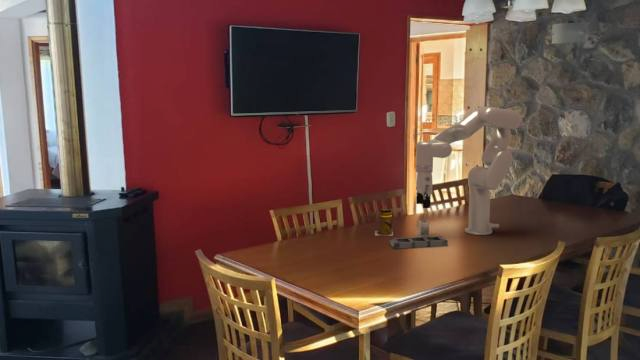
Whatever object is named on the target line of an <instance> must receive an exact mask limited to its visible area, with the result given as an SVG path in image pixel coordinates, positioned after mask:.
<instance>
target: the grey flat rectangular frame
mask: <svg viewBox="0 0 640 360" xmlns="http://www.w3.org/2000/svg"><path fill="white" fill-rule="evenodd" d="M389 245H390V246H391V247H392V248H393V250H400V249H416V248H417V249H418V248H436V247H437V248H438V247H448V240H447V239H446V238H445V237H444V236H441V235H435V236H434V235H433V236H430V235H429V237H418V236H416V237H415V236H414V237H413V236H412V237H394V238H389Z"/></svg>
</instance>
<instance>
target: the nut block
mask: <svg viewBox="0 0 640 360" xmlns="http://www.w3.org/2000/svg"><path fill="white" fill-rule="evenodd" d="M417 237H430V221H429V220H427V219H420V220H417Z"/></svg>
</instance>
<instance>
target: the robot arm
mask: <svg viewBox="0 0 640 360" xmlns="http://www.w3.org/2000/svg"><path fill="white" fill-rule="evenodd" d="M522 121H523V118H522V114H521V113H520V112H518V110H514V109H513V110H512V109H505V108H499V107H495V106H479V107H477V108H475V109H474V110H471V112H470V113H469V114H467V116H465V117H464V118H462V119H461V120H460V121H458V122H457V123H456V124H454V125H451V126H449V127H447V128H445V129H443V130H442V131H439V133H437V134H435V135H434V136H433V137H432V138H431V139H429V140H428V141H418V142H417V143H416V150H415V151H416V152H415V153H416V158H415V172H416V185H415V187H416V188H415V190H416V196H415V197H416V198H415V200H416V201H415V203H416V204H417V205H422V208H423V209H430V208H431V198H432V194H433V169H434V158H439V159H445V158H448V157H450V156H451V154H452V152H453V148H452V145H451V144H453V143H456V142H459V141H463V140H467V139H469V138H471V137H472V136H473V135H475V133H477V132H478V131H479V130H480V129H482V128H483V127H484V126H489V127H492V130H493V135H492V136H491V138H490V141H489V143H488V144H487V146H486V148H485V149H484V151H483V152H482V155H481V162H482V164H483V165H485V166H474V167H472V168H470V170H469V172H468V174H467V183H468V188H469V189H468V193H469V195H468V196H469V197H468V198H469V200H468V223H467V224H468V225H467V227H465V228H464V232H465V233H466V234H469V235H474V236H475V235H476V236H487V235H492V233H493V229H499V228H500V224H499V223H491V222H490V213H491V212H490V210H491V209H490V208H491V192H490V190H491V191H493V190H496V189H497V188H499V187H500V186H501V184H502V183H503V181H504V179H505V177H506V176H507V174H508V172H509V171H510V169H511V167H512V165H513V162H514V161H513V160H514V159H513V158H514V157H513V153H512V152H511V151H510V150H509V149H508V148H509V146H510V143H511V141H512V132H511V130H515V129H517V128H519V127H520V126H521V124H522ZM486 166H487V167H486Z"/></svg>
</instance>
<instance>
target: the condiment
mask: <svg viewBox="0 0 640 360" xmlns="http://www.w3.org/2000/svg"><path fill="white" fill-rule="evenodd" d="M379 211H380V213H379V221H378V222H379V224H378V225H379V229H378V230H374V236H384V237H385V236H386V237H387V236H388V237H390V236H392V237H393V236H394V232H393V215H392V209H391V208H381V209H380V210H379Z"/></svg>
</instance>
